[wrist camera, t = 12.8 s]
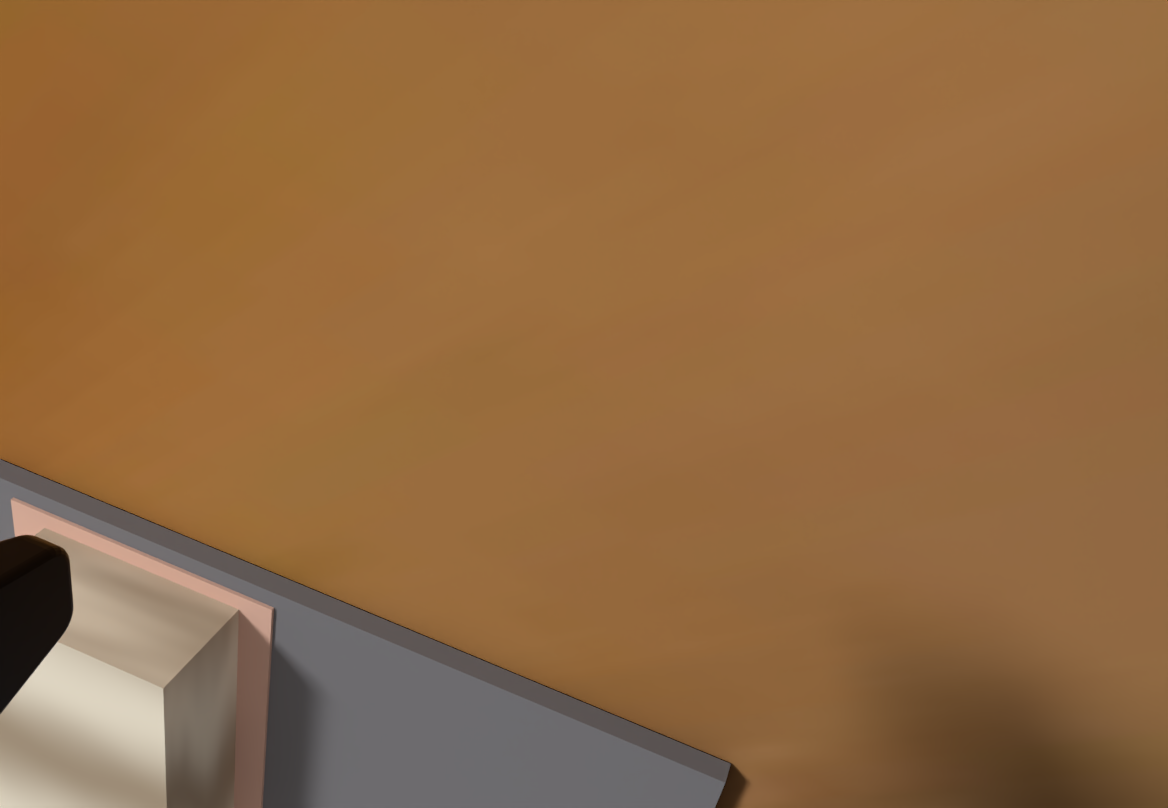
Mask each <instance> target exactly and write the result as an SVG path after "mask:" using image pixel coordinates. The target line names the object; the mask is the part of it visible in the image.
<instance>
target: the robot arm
mask: <svg viewBox="0 0 1168 808" xmlns="http://www.w3.org/2000/svg"><path fill="white" fill-rule="evenodd" d="M72 614H73V594H72V581H71V569H70V559H69V555H68V554H67V552H66V551H65V549H63V548H62V547H60V546H58V545H55V544H53V543H51V542H48V541H46V540H44V539H41V538H39V537H37V536H33V535H21V536H16V537H13V538H10V539H6V540H3V541H0V714H1V713H2V712H3V710H4V709H5V708H6V707H7V705H8V704H9V703H10V702H11V700H12V699H13V698H14V697H15V695H16V694H17V693H18V691H19V690H20V689H21V688H22V686H23V685H24V684H25V683H26V681H27V680H28V679H29V677H30V676H31V675H32V674H33V672H34V671H35V670H36V669H37V667H38V666H39V665H40V663H41V662H42V661H43V660H44V658H45V657H46V656H47V655H48V653H49V652H50V651H51V650H52V648H53V647H54V646H55V644H56V643H57V642H58V641H59V639H60V638H61V637H62V635H63V634H64V633H65V631H66V629H67V627H68V626H69V624H70V621H71V618H72Z"/></svg>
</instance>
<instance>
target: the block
mask: <svg viewBox="0 0 1168 808" xmlns="http://www.w3.org/2000/svg"><path fill="white" fill-rule="evenodd" d="M34 536H37V537H39V538H41V539H44V540H46V541H48V542H51V543H53V544H55V545H58V546H60V547H62V548H63V549H65V551H66V552H67V554H68V555H69V559H70V569H71V581H72V594H73V614H72V618H71V621H70V624H69V626H68V627H67V629H66V631H65V633H64V634H63V635H62V637H61V638H60V639H59V641H58V642H57V643H56V644H55V646H54V647H53V648H52V650H51V651H50V652H49V653H48V655H47V656H46V657H45V658H44V660H43V661H42V662H41V663H40V665H39V666H38V667H37V669H36V670H35V671H34V672H33V674H32V675H31V676H30V677H29V679H28V680H27V681H26V683H25V684H24V685H23V686H22V688H21V689H20V690H19V691H18V693H17V694H16V695H15V697H14V698H13V699H12V700H11V702H10V703H9V704H8V705H7V707H6V708H5V709H4V710H3V712H2V713H1V714H0V808H234V782H235V742H236V702H237V662H238V622H239V609H236V608H234V607H232V606H229V605H227V604H225V603H222V602H220V601H217V600H215V599H213V598H210V597H208V596H206V595H203V594H201V593H198V592H196V591H194V590H191V589H189V588H187V587H184V586H182V585H179V584H177V583H175V582H172V581H170V580H168V579H165V578H163V577H160V576H158V575H156V574H153V573H151V572H149V571H146V570H144V569H141V568H139V567H137V566H134V565H132V564H130V563H127V562H125V561H122V560H120V559H118V558H115V557H113V556H111V555H108V554H106V553H103V552H101V551H99V550H96V549H94V548H92V547H89V546H87V545H84V544H82V543H80V542H77V541H75V540H73V539H70V538H68V537H65V536H63V535H61V534H58V533H56V532H53V531H51V530H49V529H46V528H44V529H42V530H41V531H40V532H38V533H37V534H36V535H34Z"/></svg>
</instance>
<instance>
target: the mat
mask: <svg viewBox="0 0 1168 808" xmlns="http://www.w3.org/2000/svg"><path fill="white" fill-rule="evenodd" d="M44 528H46V529H49V530H51V531H53V532H56V533H58V534H61V535H63V536H65V537H68V538H70V539H73V540H75V541H77V542H80V543H82V544H84V545H87V546H89V547H92V548H94V549H96V550H99V551H101V552H103V553H106V554H108V555H111V556H113V557H115V558H118V559H120V560H122V561H125V562H127V563H130V564H132V565H134V566H137V567H139V568H141V569H144V570H146V571H149V572H151V573H153V574H156V575H158V576H160V577H163V578H165V579H168V580H170V581H172V582H175V583H177V584H179V585H182V586H184V587H187V588H189V589H191V590H194V591H196V592H198V593H201V594H203V595H206V596H208V597H210V598H213V599H215V600H217V601H220V602H222V603H225V604H227V605H229V606H232V607H234V608H236V609H239V622H238V662H237V702H236V742H235V782H234V808H715V806H716V804H717V802H718V799H719V797H720V795H721V792H722V790H723V787H724V785H725V783H726V779H727V776H728V772H729V769H730V765H731V764H730V763H728V762H725V761H723V760H721V759H718V758H716V757H713V756H711V755H709V754H706V753H704V752H701V751H699V750H697V749H694V748H692V747H689V746H687V745H685V744H682V743H680V742H677V741H675V740H673V739H670V738H668V737H665V736H663V735H661V734H658V733H656V732H653V731H651V730H649V729H646V728H644V727H641V726H639V725H637V724H634V723H632V722H629V721H627V720H625V719H622V718H620V717H617V716H615V715H613V714H610V713H608V712H605V711H603V710H601V709H598V708H596V707H593V706H591V705H589V704H586V703H584V702H581V701H579V700H577V699H574V698H572V697H569V696H567V695H565V694H562V693H560V692H557V691H555V690H553V689H550V688H548V687H545V686H543V685H541V684H538V683H536V682H533V681H531V680H529V679H526V678H524V677H521V676H519V675H517V674H514V673H512V672H509V671H507V670H505V669H502V668H500V667H497V666H495V665H493V664H490V663H488V662H485V661H483V660H481V659H478V658H476V657H473V656H471V655H469V654H466V653H464V652H461V651H459V650H457V649H454V648H452V647H449V646H447V645H445V644H442V643H440V642H437V641H435V640H433V639H430V638H428V637H425V636H423V635H421V634H418V633H416V632H413V631H411V630H409V629H406V628H404V627H401V626H399V625H397V624H394V623H392V622H389V621H387V620H385V619H382V618H380V617H377V616H375V615H373V614H370V613H368V612H365V611H363V610H361V609H358V608H356V607H353V606H351V605H349V604H346V603H344V602H341V601H339V600H337V599H334V598H332V597H329V596H327V595H325V594H322V593H320V592H317V591H315V590H313V589H310V588H308V587H305V586H303V585H301V584H298V583H296V582H293V581H291V580H289V579H286V578H284V577H281V576H279V575H277V574H274V573H272V572H269V571H267V570H265V569H262V568H260V567H257V566H255V565H253V564H250V563H248V562H245V561H243V560H241V559H238V558H236V557H233V556H231V555H229V554H226V553H224V552H221V551H219V550H217V549H214V548H212V547H209V546H207V545H205V544H202V543H200V542H197V541H195V540H193V539H190V538H188V537H185V536H183V535H181V534H178V533H176V532H173V531H171V530H169V529H166V528H164V527H161V526H159V525H157V524H154V523H152V522H149V521H147V520H145V519H142V518H140V517H137V516H135V515H133V514H130V513H128V512H125V511H123V510H121V509H118V508H116V507H113V506H111V505H109V504H106V503H104V502H101V501H99V500H97V499H94V498H92V497H89V496H87V495H85V494H82V493H80V492H77V491H75V490H73V489H70V488H68V487H65V486H63V485H61V484H58V483H56V482H53V481H51V480H49V479H46V478H44V477H41V476H39V475H37V474H34V473H32V472H29V471H27V470H25V469H22V468H20V467H17V466H15V465H13V464H10V463H8V462H5V461H3V460H1V459H0V541H3V540H6V539H10V538H13V537H16V536H21V535H33V536H34V535H36V534H37V533H38V532H40V531H41V530H42V529H44Z"/></svg>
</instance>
